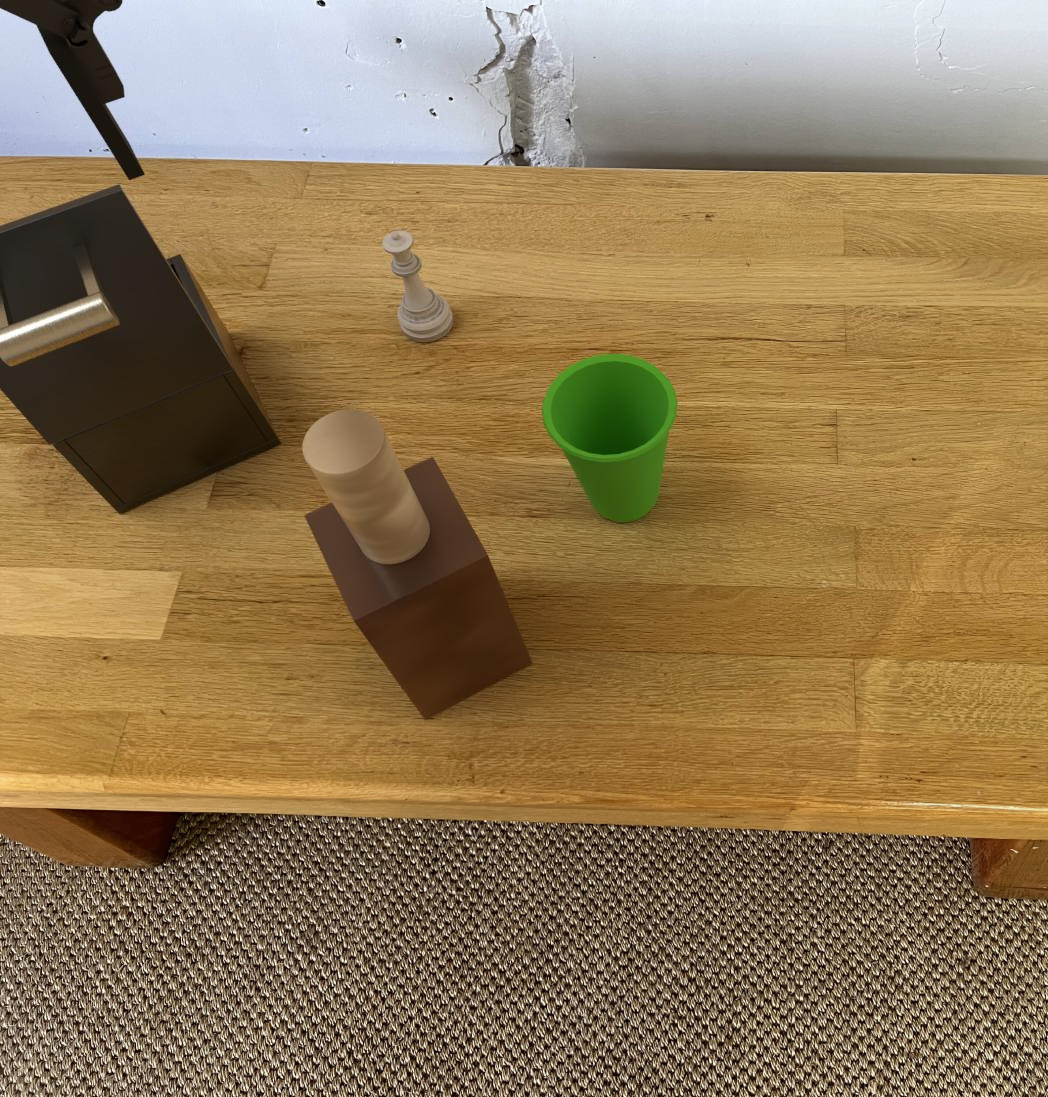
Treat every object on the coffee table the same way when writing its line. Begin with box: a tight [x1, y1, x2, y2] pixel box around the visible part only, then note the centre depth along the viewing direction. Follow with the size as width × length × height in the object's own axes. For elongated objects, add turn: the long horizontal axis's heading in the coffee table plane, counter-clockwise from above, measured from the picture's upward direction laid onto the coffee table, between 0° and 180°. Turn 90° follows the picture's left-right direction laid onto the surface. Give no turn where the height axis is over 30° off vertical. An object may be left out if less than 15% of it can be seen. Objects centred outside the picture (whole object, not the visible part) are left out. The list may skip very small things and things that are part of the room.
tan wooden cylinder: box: [301, 408, 430, 564], centre depth 54 cm, size 4×4×9 cm
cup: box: [541, 353, 679, 523], centre depth 73 cm, size 9×9×11 cm
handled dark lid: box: [0, 183, 233, 445], centre depth 63 cm, size 14×13×9 cm
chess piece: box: [381, 230, 454, 343], centre depth 82 cm, size 4×4×10 cm
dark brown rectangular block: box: [304, 456, 533, 721], centre depth 65 cm, size 8×8×15 cm
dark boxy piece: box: [51, 253, 282, 515], centre depth 78 cm, size 14×13×9 cm
